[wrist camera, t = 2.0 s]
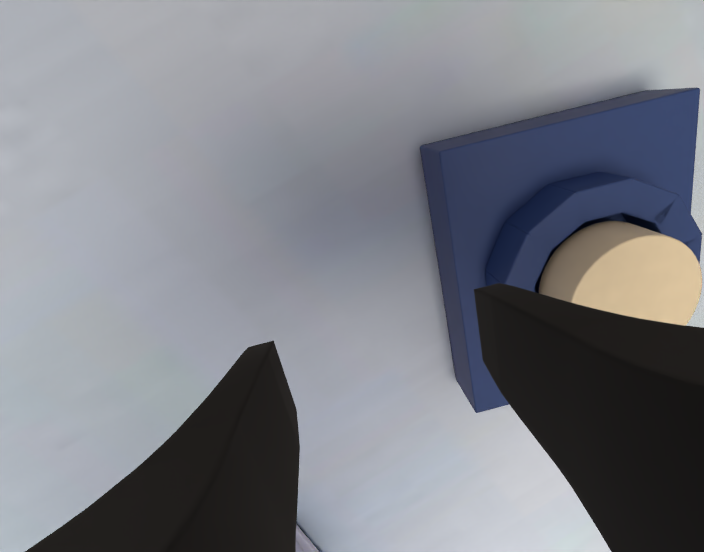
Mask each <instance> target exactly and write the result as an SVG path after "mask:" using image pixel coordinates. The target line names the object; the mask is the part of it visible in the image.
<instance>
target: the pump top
mask: <svg viewBox="0 0 704 552" xmlns="http://www.w3.org/2000/svg"><path fill="white" fill-rule="evenodd" d="M701 288H702V274H701V269H700V265H699V262H698V260H697V258H696V256H695V255H694V253H693V252H692V251H691V249H689V248H688V247H687V246H686V245H685V244H684V243H682V242H681V241H679V240H677V239H675V238H672V237H669V236H666V235H663V234H661V233H658V232H655V231H652V230H649V229H646V228H643V227H640V226H637V225H634V224H631V223H627V222H623V221H605V222H599V223H596V224H592V225H589V226H587V227H585V228H583V229H581V230H579V231H577V232H576V233H574V234H573V235H571V236H570V237H569V238H567V239H566V240H565V241H564V242H563V243H562V244H561V245H560V246H559V247H558V248H557V249H556V250H555V252H554V253H553V254H552V256H551V257H550V259H549V260H548V262H547V264H546V266H545V268H544V271H543V273H542V276H541V280H540V285H539V293H540V294H543V295H546V296H550V297H553V298H557V299H560V300H564V301H567V302H571V303H575V304H578V305H582V306H586V307H590V308H594V309H598V310H603V311H607V312H611V313H616V314H620V315H625V316H630V317H635V318H640V319H646V320H652V321H658V322H664V323H671V324H677V325H684V326H686V324H687V323H688V321H689V320H690V318H691V317H692V315H693V313H694V311H695V309H696V306H697V304H698V301H699V298H700V294H701Z"/></svg>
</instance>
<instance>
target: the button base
mask: <svg viewBox="0 0 704 552" xmlns="http://www.w3.org/2000/svg"><path fill="white" fill-rule="evenodd" d="M699 95H700V89H699V88H683V89H665V90H647V91H642V92H638V93H634V94H630V95H626V96H622V97H618V98H613V99H609V100H605V101H601V102H597V103H593V104H589V105H585V106H581V107H577V108H573V109H568V110H564V111H560V112H556V113H552V114H548V115H544V116H540V117H536V118H532V119H528V120H523V121H519V122H515V123H511V124H507V125H503V126H499V127H495V128H491V129H487V130H483V131H478V132H474V133H470V134H466V135H462V136H458V137H454V138H450V139H446V140H442V141H438V142H433V143H429V144H425V145H422V146H420V151H421V157H422V164H423V170H424V177H425V183H426V189H427V196H428V202H429V209H430V215H431V221H432V228H433V234H434V241H435V247H436V253H437V260H438V266H439V272H440V279H441V285H442V292H443V298H444V304H445V311H446V317H447V324H448V330H449V336H450V343H451V349H452V356H453V362H454V368H455V375H456V380H457V382H458V384H459V385H460V387H461V389H462V390H463V392H464V394H465V395H466V397H467V399H468V400H469V402H470V404H471V405H472V407H473V409H474V410H475V412H476V413H478V412H482V411H486V410H490V409H493V408H497V407H501V406H505V405H508V404H509V403H508V402H507V400H506V399H505V398H504V396H503V395H502V393H501V392H500V390H499V388H498V387H497V385H496V383H495V382H494V380H493V378H492V376H491V375H490V373H489V371H488V369H487V367H486V365H485V364H484V362H483V358H482V350H481V343H480V335H479V327H478V319H477V311H476V303H475V295H474V289H477V288H481V287H485V286H489V285H493V284H496V283H501V284H507V285H511V286H515V287H519V288H522V289H526V290H529V291H533V292H536V293H539V285H540V280H541V276H542V273H543V271H544V268H545V266H546V264H547V262H548V260H549V259H550V257H551V256H552V254H553V253H554V252H555V250H556V249H557V248H558V247H559V246H560V245H561V244H562V243H563V242H564V241H565V240H566V239H567V238H569V237H570V236H571V235H573V234H574V233H576V232H577V231H579V230H581V229H583V228H585V227H587V226H589V225H592V224H596V223H599V222H605V221H623V222H627V223H631V224H634V225H637V226H640V227H643V228H646V229H649V230H652V231H655V232H658V233H661V234H663V235H666V236H669V237H672V238H675V239H677V240H679V241H681V242H682V243H684V244H685V245H686V246H687V247H688V248H689V249H691V251H692V252H693V253H694V255H695V256H696V258H697V260H698V262H699V263H700V251H701V240H702V236H701V235H702V233H701V231H700V230H699V228H698V226H697V224H696V223H695V221H694V219H693V218H692V216H691V202H692V189H693V175H694V162H695V149H696V135H697V122H698V109H699Z"/></svg>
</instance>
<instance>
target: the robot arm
mask: <svg viewBox="0 0 704 552" xmlns="http://www.w3.org/2000/svg"><path fill="white" fill-rule="evenodd" d="M474 295H475V303H476V311H477V319H478V327H479V335H480V343H481V350H482V358H483V362H484V364H485V365H486V367H487V369H488V371H489V373H490V375H491V376H492V378H493V380H494V382H495V383H496V385H497V387H498V388H499V390H500V392H501V393H502V395H503V396H504V398H505V399H506V400H507V402H508V403H509V404H510V406H511V407H512V408H513V409H514V411H515V412H516V413H517V415H518V416H519V417H520V419H521V420H522V421H523V423H524V424H525V425H526V426H527V428H528V429H529V430H530V432H531V433H532V434H533V436H534V437H535V438H536V439H537V441H538V442H539V443H540V445H541V446H542V447H543V448H544V450H545V451H546V452H547V454H548V455H549V456H550V458H551V459H552V460H553V461H554V463H555V464H556V465H557V467H558V468H559V469H560V471H561V472H562V474H563V475H564V476H565V478H566V479H567V481H568V482H569V484H570V485H571V486H572V488H573V490H574V491H575V493H576V494H577V496H578V498H579V499H580V501H581V502H582V504H583V506H584V507H585V509H586V510H587V512H588V514H589V515H590V517H591V518H592V520H593V522H594V523H595V525H596V527H597V528H598V530H599V531H600V533H601V535H602V536H603V538H604V540H605V541H606V543H607V545H608V547H609V548H610V550H611V552H704V328H700V327H692V326H684V325H677V324H671V323H664V322H658V321H652V320H646V319H640V318H635V317H630V316H625V315H620V314H616V313H611V312H607V311H603V310H598V309H594V308H590V307H586V306H582V305H578V304H575V303H571V302H567V301H564V300H560V299H557V298H553V297H550V296H546V295H543V294H540V293H536V292H533V291H529V290H526V289H522V288H519V287H515V286H511V285H507V284H501V283H496V284H493V285H489V286H485V287H481V288H477V289H474ZM299 450H300V445H299V433H298V422H297V411H296V407H295V404H294V401H293V398H292V395H291V392H290V389H289V386H288V383H287V380H286V377H285V374H284V371H283V368H282V365H281V362H280V359H279V356H278V353H277V350H276V347H275V344H274V341H271V342H267V343H263V344H259V345H255V346H251V347H248V348H247V349H246V350H245V351H244V353H243V354H242V355H241V356H240V357H239V359H238V360H237V361H236V362H235V364H234V365H233V366H232V367H231V369H230V370H229V371H228V372H227V374H226V375H225V376H224V377H223V379H222V380H221V381H220V382H219V383H218V385H217V386H216V387H215V388H214V390H213V391H212V392H211V393H210V394H209V396H208V397H207V398H206V399H205V400H204V401H203V402H202V403H201V405H200V406H199V407H198V408H197V409H196V410H195V411H194V412H193V413H192V415H191V416H190V417H189V418H188V419H187V420H186V421H185V422H184V423H183V424H182V426H181V427H180V428H179V429H178V430H177V431H176V432H175V433H174V434H173V435H172V436H171V437H170V438H169V439H168V440H167V441H166V442H165V443H164V444H163V445H162V446H160V447H159V448H158V449H157V450H156V451H155V452H154V453H153V454H152V455H151V456H150V457H149V458H147V459H146V460H145V461H144V462H143V463H142V464H141V465H140V466H138V467H137V468H136V469H135V470H134V471H133V472H131V473H130V474H129V475H128V476H126V477H125V478H124V479H123V480H121V481H120V482H119V483H118V484H116V485H115V486H114V487H113V488H112V489H110V490H109V491H108V492H107V493H105V494H104V495H103V496H102V497H100V498H99V499H98V500H97V501H95V502H94V503H93V504H92V505H90V506H89V507H88V508H86V509H85V510H84V511H82V512H81V513H80V514H78V515H77V516H75V517H74V518H73V519H71V520H70V521H69V522H67V523H66V524H64V525H63V526H62V527H60V528H59V529H57V530H56V531H55V532H53V533H52V534H50V535H49V536H47V537H46V538H44V539H43V540H41V541H40V542H38V543H37V544H36V545H34V546H33V547H31V548H30V549H28V550H27V551H25V552H319V551H318V549H317V548H316V547H315V546H314V545H313V544H312V542H311V541H310V540H309V539H308V538H307V536H306V535H305V534H304V533H303V532H302V530H301V529H300V528H299V527H298V526H297V525H296V520H297V498H298V476H299Z"/></svg>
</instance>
